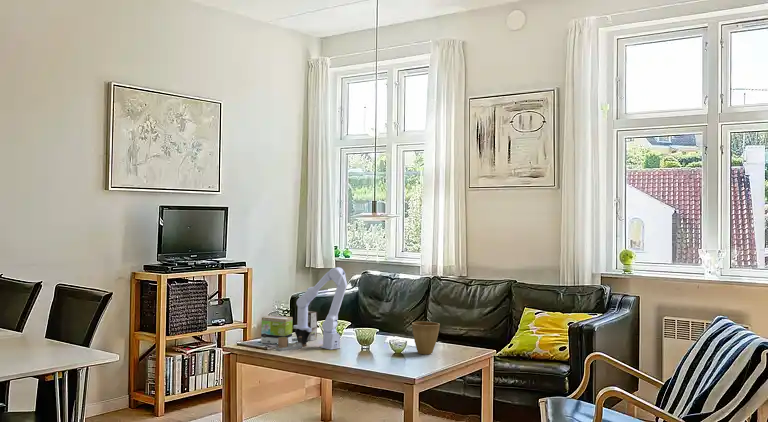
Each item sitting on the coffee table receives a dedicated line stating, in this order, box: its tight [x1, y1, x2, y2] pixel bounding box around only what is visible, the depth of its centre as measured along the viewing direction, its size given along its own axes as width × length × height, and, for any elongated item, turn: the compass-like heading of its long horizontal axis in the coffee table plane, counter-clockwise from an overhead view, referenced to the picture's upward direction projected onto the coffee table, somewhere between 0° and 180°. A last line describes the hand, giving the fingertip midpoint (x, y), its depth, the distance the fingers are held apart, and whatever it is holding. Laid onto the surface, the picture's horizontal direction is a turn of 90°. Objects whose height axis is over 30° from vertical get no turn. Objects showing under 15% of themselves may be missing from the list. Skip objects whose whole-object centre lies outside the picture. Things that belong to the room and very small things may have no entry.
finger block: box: [297, 336, 308, 348], centre depth 387 cm, size 4×4×5 cm
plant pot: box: [411, 321, 441, 355], centre depth 373 cm, size 15×15×16 cm
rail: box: [274, 337, 303, 352], centre depth 377 cm, size 5×14×6 cm, turn 133°
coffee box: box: [307, 310, 318, 342], centre depth 408 cm, size 9×6×16 cm
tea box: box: [260, 314, 294, 344], centre depth 394 cm, size 15×10×15 cm, turn 73°
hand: (302, 343), depth 387 cm, fingers closed on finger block, 3 cm apart
